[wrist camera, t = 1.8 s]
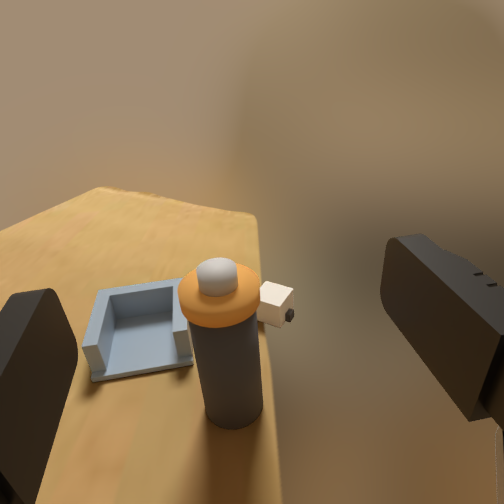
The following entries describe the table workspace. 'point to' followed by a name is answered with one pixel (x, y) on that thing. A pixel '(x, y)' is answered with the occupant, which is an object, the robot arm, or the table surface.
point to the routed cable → (275, 304)
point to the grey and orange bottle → (225, 339)
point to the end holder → (137, 331)
